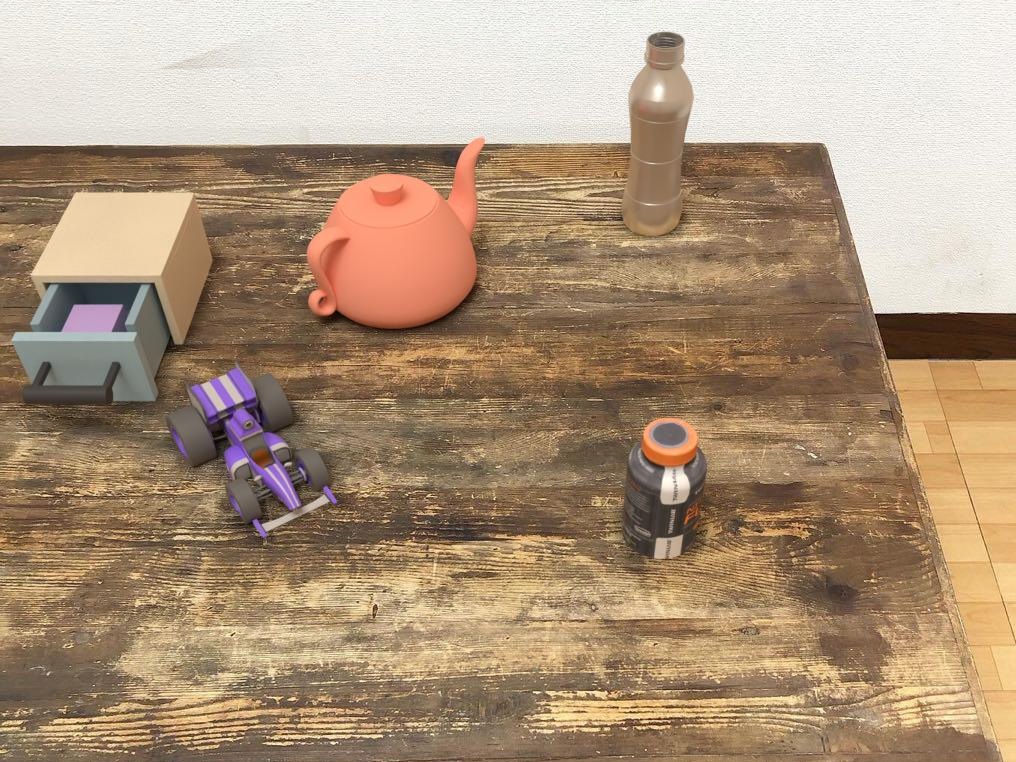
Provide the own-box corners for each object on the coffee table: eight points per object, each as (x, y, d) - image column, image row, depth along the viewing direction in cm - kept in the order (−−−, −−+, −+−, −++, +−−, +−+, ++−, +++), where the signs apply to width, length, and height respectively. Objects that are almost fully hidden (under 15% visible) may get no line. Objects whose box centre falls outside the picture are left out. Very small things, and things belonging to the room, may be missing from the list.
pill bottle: (692, 570, 83) (709, 467, 75) (617, 561, 84) (625, 458, 75) (697, 514, 87) (714, 411, 79) (625, 506, 88) (633, 402, 79)
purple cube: (76, 374, 96) (59, 335, 93) (89, 343, 99) (74, 304, 96) (124, 374, 96) (109, 335, 93) (137, 343, 99) (123, 304, 96)
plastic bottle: (687, 217, 116) (708, 29, 101) (671, 251, 112) (691, 60, 97) (629, 206, 117) (642, 20, 102) (612, 240, 113) (622, 50, 98)
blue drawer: (142, 438, 92) (118, 377, 87) (21, 438, 92) (-9, 377, 87) (187, 315, 103) (168, 254, 98) (80, 314, 104) (55, 254, 98)
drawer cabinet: (185, 352, 101) (160, 275, 95) (63, 351, 101) (30, 275, 95) (215, 267, 110) (194, 192, 104) (102, 267, 110) (75, 192, 104)
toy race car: (248, 554, 85) (230, 497, 80) (174, 446, 93) (153, 389, 88) (355, 502, 88) (343, 445, 83) (274, 403, 96) (259, 346, 91)
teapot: (443, 217, 116) (434, 106, 107) (540, 279, 109) (540, 166, 99) (271, 300, 106) (245, 187, 97) (365, 375, 99) (347, 260, 89)
